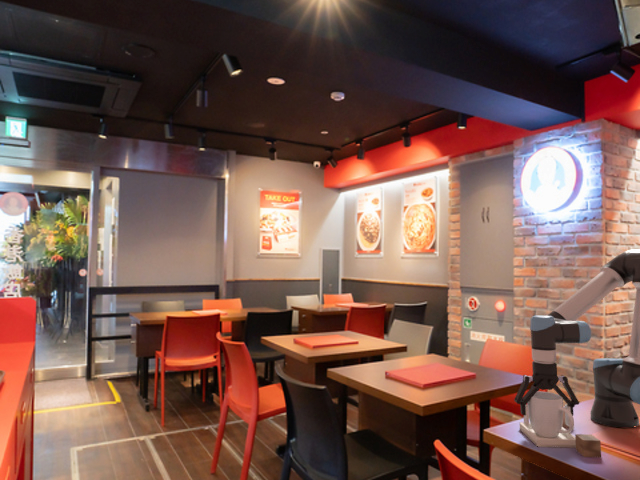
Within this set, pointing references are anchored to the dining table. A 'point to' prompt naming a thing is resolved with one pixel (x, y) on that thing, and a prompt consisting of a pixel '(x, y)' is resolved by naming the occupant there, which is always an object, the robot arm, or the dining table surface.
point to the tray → (559, 441)
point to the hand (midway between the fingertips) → (547, 425)
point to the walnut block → (588, 445)
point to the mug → (548, 414)
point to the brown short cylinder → (564, 422)
